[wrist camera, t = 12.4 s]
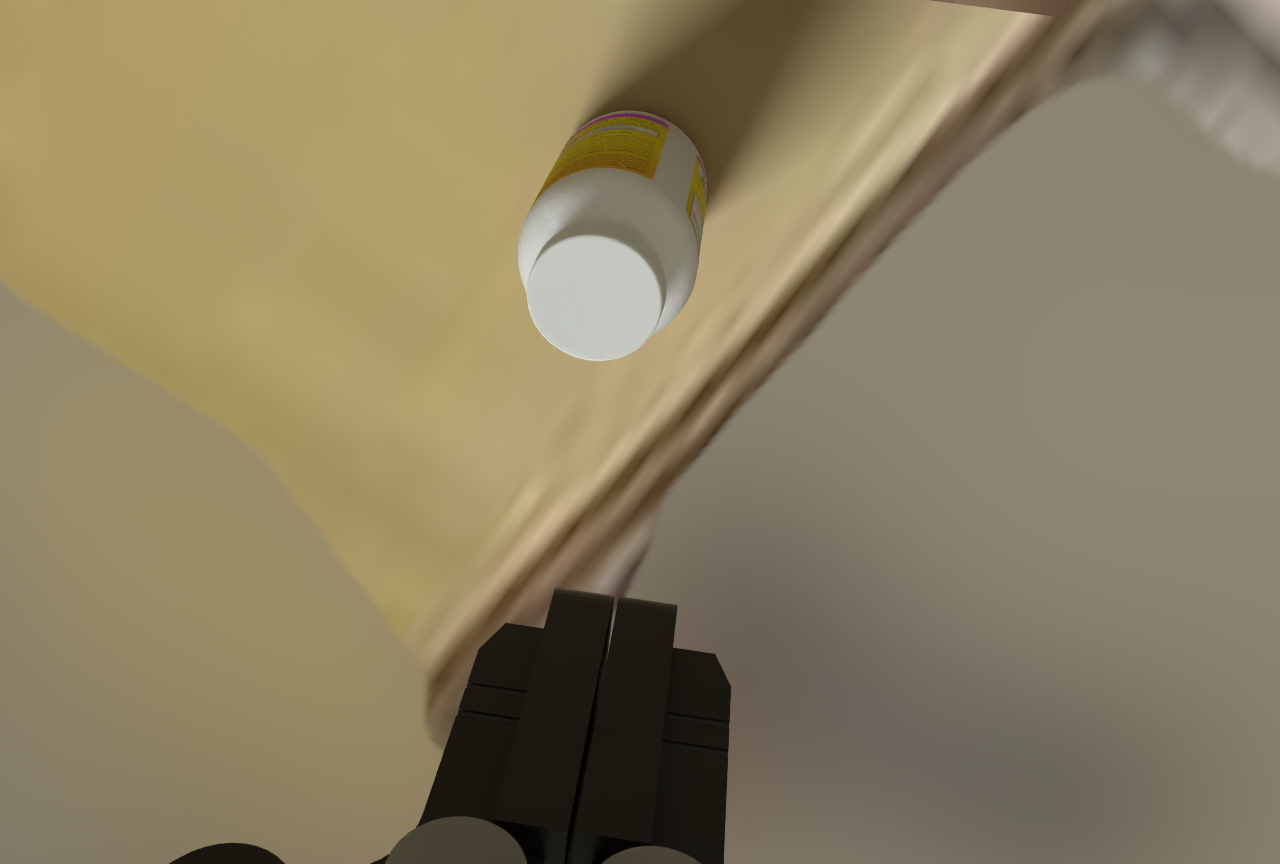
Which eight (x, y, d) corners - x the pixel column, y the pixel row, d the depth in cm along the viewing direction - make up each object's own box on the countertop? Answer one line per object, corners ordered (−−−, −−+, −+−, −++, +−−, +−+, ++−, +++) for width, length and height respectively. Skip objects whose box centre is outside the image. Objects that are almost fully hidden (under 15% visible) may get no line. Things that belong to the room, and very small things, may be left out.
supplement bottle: (526, 174, 49) (455, 285, 38) (638, 72, 46) (597, 160, 35) (627, 284, 51) (588, 420, 40) (740, 193, 49) (732, 312, 37)
